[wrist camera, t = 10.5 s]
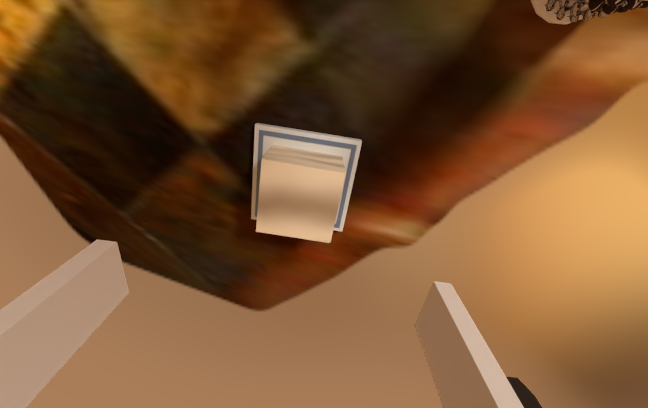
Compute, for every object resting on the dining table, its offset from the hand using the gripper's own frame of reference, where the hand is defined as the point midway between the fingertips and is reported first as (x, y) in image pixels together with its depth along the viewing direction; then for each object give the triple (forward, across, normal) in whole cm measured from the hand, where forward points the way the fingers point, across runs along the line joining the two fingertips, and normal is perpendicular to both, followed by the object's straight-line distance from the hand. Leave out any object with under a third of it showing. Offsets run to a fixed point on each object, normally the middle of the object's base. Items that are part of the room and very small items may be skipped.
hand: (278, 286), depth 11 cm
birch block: (+21, 0, -4) cm, 21 cm away
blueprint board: (+22, 0, -4) cm, 22 cm away
